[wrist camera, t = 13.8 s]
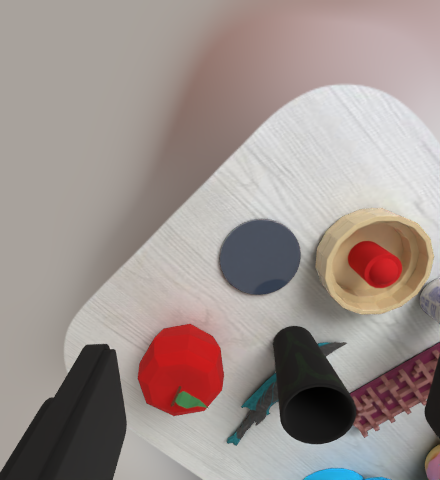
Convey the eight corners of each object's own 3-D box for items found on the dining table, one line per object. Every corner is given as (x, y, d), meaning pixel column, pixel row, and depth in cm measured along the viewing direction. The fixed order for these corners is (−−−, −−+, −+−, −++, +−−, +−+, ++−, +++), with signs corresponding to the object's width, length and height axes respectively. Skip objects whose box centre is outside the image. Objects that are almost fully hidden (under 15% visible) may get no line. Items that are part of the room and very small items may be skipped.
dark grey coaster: (219, 219, 36) (219, 220, 36) (302, 217, 37) (303, 218, 36) (220, 293, 40) (220, 295, 39) (296, 291, 40) (297, 293, 40)
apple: (141, 371, 43) (122, 437, 34) (151, 307, 40) (133, 360, 31) (215, 381, 44) (216, 448, 35) (230, 319, 41) (236, 375, 32)
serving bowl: (319, 208, 36) (331, 217, 33) (420, 206, 37) (444, 214, 33) (310, 298, 40) (320, 315, 37) (401, 296, 41) (421, 312, 37)
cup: (255, 354, 43) (266, 428, 31) (282, 310, 41) (304, 372, 30) (303, 374, 44) (331, 454, 32) (331, 333, 42) (372, 402, 30)
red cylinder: (349, 240, 37) (372, 258, 32) (383, 240, 37) (412, 257, 32) (345, 272, 39) (367, 294, 33) (378, 271, 39) (405, 293, 34)
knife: (212, 431, 47) (236, 445, 49) (212, 437, 46) (237, 451, 48) (321, 323, 42) (347, 341, 43) (324, 327, 41) (350, 346, 42)
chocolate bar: (474, 366, 45) (485, 376, 43) (360, 428, 48) (366, 440, 46) (454, 334, 43) (465, 343, 41) (337, 400, 46) (342, 412, 44)
